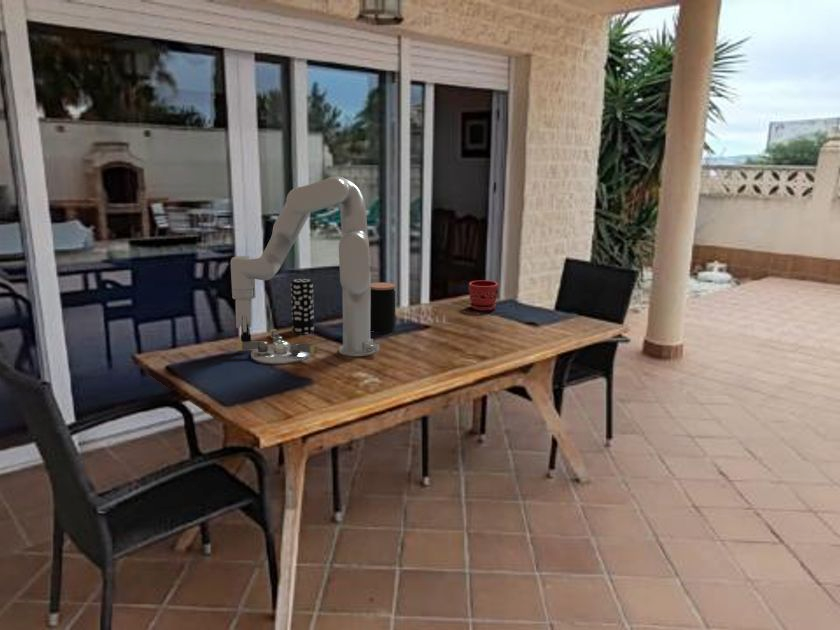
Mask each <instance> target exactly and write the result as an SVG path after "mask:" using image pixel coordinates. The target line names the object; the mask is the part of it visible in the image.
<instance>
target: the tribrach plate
mask: <svg viewBox="0 0 840 630" xmlns="http://www.w3.org/2000/svg"><path fill="white" fill-rule="evenodd" d="M290 344H291V343H289V341H288V340H285V339H282V340H278V341H275V342H274V343H273V342H272V343H270V344H268V351H267V352H258V349H252V351H250V358H251V360H252V359H253V361H254V360H255V361H254V362H256V363H258V364H259V363H260V364H264V365H287V364H288V365H290V364H295V363H299V362H302V361H305V360H307V359H309V358H310V357H311V356H312V354H310V353H307V352H301V351H300V353H299V354H291V347H290ZM273 345H274V346H273Z"/></svg>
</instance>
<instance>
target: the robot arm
mask: <svg viewBox="0 0 840 630" xmlns="http://www.w3.org/2000/svg"><path fill="white" fill-rule="evenodd" d="M285 201H286V202H285V204H284V206H283V207H282V210H281V211H280V213H279V215H278V217H277V218H276V221H274V223H273V228H272V234H271V237H270V239H269V241H268V243H267V245H266V247H265V248H264V251H263V252H262V254H261V256H260V257H258V258H254V257H251V256H250V255H249V256H248V255H238V256H233V257H232V258H231V260H230V274H231V277H230V278H231V279H230V280H231V294H232V296H231V297H232V299H233V300H235V325H236V329H239V328H240V331H241V332H240V333H241V334H240V341H242V342H246V341H252V335H251V334H252V333H251V327H252V322H253V299H255V298H256V281H255V280H258V281H268V280H271V279H272V278H273V277H274V276H275V275H276V274H277V273H278V272H279V270H280V268H281V267H282V266H283V263H284V261H285V259H286V258H287V256H288V254H289V252H290V250H291V248H292V247H293V245H294V244H295V242H296V240H297V239H298V237H299V235H300V233H301V232H302V230H303V228H304V226H305V224H306V223H307V220H308V218H309V217H310V216H311V213H313V212H314V213H315V212H318V211H322V210H323V209H324V210H325V209H327V208H331V207H333V206H337V205H338V207H339V210H340V226H341V238H340V240H339V243H338V259H339V260H338V261H339V264H338V265H339V280H340V281H339V282H340V285H341V287H342V345H340V346H339V347H338V353H339V354H340V355H342V356H346V357H357V358H359V357H365V356H370V355H373V354H374V353H376V352H379V351H380V344H379V343H374V338H371V331H370V308H371V283H372V279H371V278H372V275H371V270H370V250H369V248H370V243H369V241H370V240H369V235H368V221H367V220H368V219H367V208H366V207H367V206H366V201H365V198H364V196H363V194H362V191H360V189H359V188H358V186H357V185H356V184H354V183H353V182H352V181H351V180H349V179H346V178H345V177H342V176H337V175H335V176H331V177H329V178H326V179H323V180H320V181H316V182H313V183H310V184H306V185H302V186H297V187H294V188H293V189H290V191H289V192H288V194H287V196H286V200H285Z"/></svg>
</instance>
